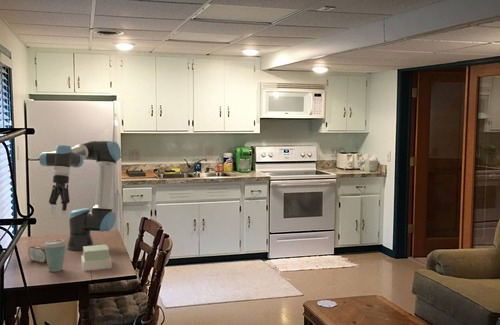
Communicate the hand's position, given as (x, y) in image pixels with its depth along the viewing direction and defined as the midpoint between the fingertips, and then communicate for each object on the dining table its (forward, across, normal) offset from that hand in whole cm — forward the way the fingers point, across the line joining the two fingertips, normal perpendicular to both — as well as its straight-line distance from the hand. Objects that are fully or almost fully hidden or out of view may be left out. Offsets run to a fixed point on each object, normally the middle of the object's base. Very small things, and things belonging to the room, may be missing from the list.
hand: (57, 217), depth 260 cm
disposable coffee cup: (+27, -6, +4) cm, 28 cm away
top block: (+20, +2, +22) cm, 29 cm away
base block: (+25, +1, +23) cm, 33 cm away
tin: (+24, -27, +3) cm, 36 cm away
